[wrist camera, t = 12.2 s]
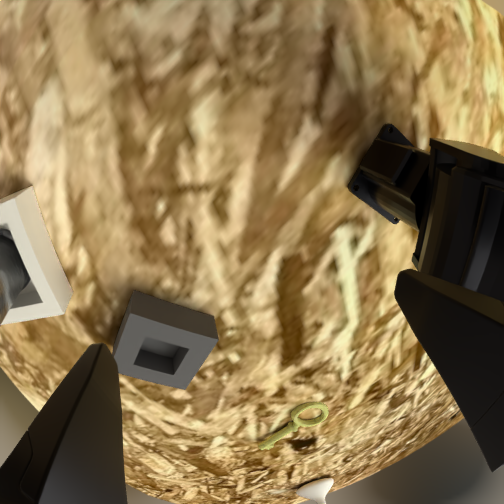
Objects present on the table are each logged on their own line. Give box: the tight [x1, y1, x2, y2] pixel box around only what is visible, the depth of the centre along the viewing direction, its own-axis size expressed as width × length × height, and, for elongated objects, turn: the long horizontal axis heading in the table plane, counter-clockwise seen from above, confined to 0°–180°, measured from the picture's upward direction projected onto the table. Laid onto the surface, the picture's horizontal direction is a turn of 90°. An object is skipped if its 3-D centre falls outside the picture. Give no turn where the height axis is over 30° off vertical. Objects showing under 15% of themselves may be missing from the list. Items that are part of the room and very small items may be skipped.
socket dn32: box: [112, 290, 219, 390], centre depth 22 cm, size 7×7×3 cm
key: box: [258, 402, 328, 450], centre depth 37 cm, size 7×12×2 cm, turn 147°
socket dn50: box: [0, 186, 73, 325], centre depth 16 cm, size 9×9×3 cm
